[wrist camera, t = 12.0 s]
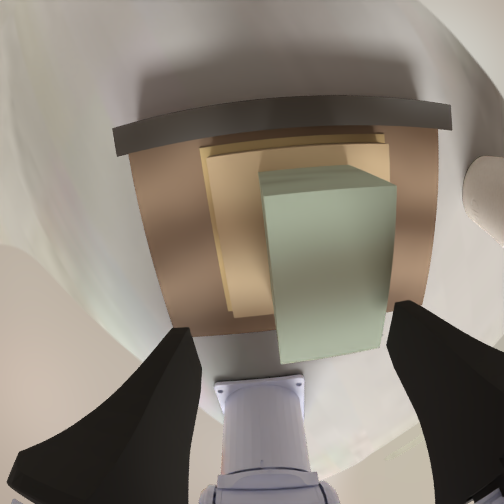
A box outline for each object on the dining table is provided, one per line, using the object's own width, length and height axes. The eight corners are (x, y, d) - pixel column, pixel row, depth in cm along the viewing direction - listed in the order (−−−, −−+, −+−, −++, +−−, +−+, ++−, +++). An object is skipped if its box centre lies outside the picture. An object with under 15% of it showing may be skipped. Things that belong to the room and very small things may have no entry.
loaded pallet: (373, 285, 17) (417, 352, 12) (235, 303, 18) (230, 383, 12) (376, 141, 14) (448, 156, 8) (210, 155, 14) (182, 174, 8)
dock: (410, 291, 20) (431, 316, 17) (182, 320, 21) (172, 352, 18) (419, 105, 15) (450, 104, 11) (137, 127, 15) (112, 128, 12)
